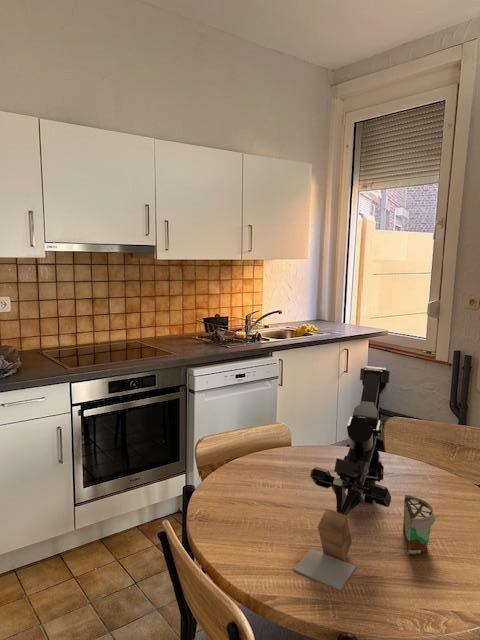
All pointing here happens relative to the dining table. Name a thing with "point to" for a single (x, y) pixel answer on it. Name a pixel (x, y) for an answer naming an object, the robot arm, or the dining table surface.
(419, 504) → the food container
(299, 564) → the mat
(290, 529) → the dining table surface
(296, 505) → the dining table surface
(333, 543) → the walnut block
